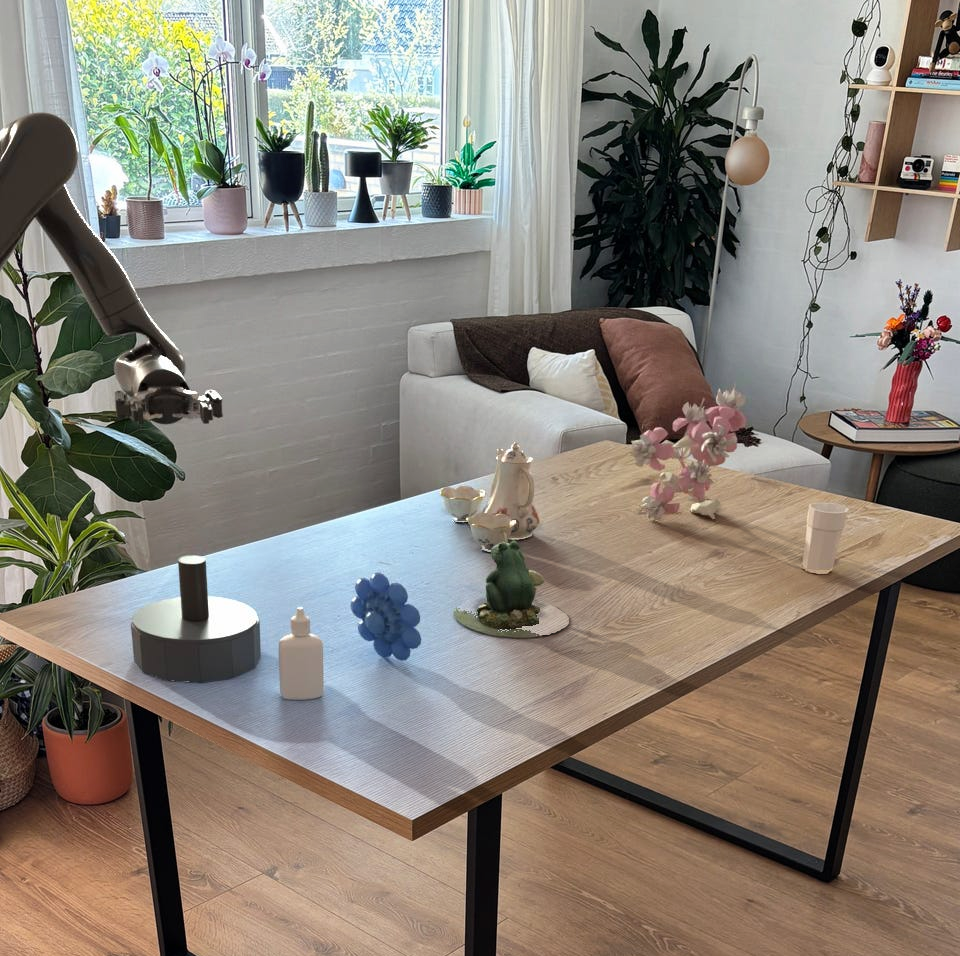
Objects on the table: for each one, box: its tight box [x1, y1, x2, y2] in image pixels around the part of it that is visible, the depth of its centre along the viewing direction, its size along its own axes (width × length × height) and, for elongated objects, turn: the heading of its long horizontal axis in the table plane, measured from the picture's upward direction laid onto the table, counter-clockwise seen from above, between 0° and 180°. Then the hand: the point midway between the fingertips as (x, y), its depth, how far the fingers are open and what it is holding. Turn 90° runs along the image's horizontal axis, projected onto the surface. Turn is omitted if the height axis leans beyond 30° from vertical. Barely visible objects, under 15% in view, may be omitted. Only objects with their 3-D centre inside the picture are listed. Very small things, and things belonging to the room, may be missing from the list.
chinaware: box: [439, 441, 540, 550], centre depth 231 cm, size 28×17×17 cm, turn 23°
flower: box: [628, 381, 747, 521], centre depth 247 cm, size 20×22×25 cm
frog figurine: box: [453, 540, 545, 639], centre depth 196 cm, size 18×18×12 cm
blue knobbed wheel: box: [350, 572, 422, 662], centre depth 179 cm, size 12×7×12 cm, turn 58°
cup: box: [801, 501, 849, 570], centre depth 225 cm, size 7×7×11 cm
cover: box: [130, 555, 262, 684], centre depth 176 cm, size 17×17×14 cm
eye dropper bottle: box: [278, 606, 325, 701], centre depth 167 cm, size 4×6×12 cm
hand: (173, 416), depth 173 cm, fingers open, 8 cm apart
